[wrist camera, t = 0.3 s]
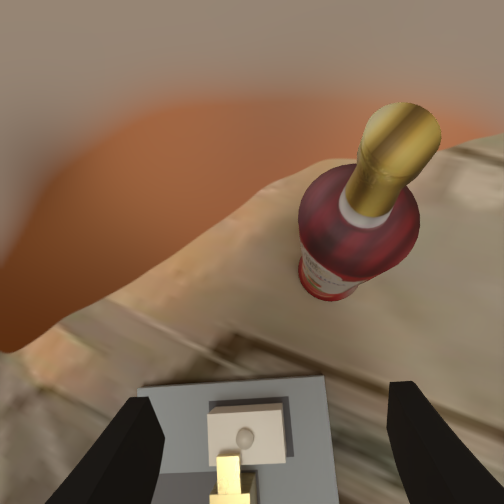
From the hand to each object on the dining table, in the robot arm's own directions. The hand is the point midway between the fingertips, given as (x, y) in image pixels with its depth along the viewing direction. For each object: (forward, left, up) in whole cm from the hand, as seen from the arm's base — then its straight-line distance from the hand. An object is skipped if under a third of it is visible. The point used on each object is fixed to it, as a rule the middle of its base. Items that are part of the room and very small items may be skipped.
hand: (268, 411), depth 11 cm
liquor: (+9, -6, -29) cm, 31 cm away
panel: (-9, +6, -29) cm, 31 cm away
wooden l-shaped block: (-11, +6, -27) cm, 29 cm away
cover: (-6, +4, -27) cm, 28 cm away
